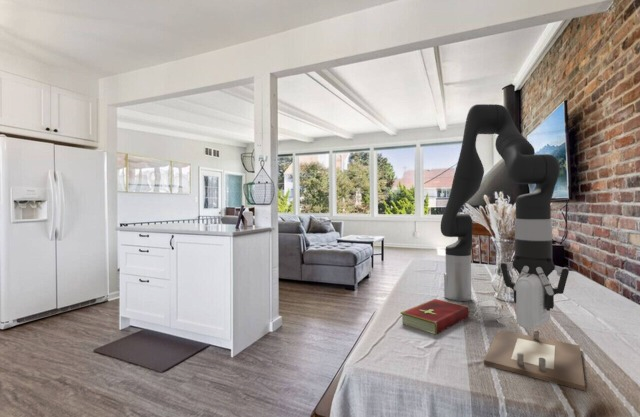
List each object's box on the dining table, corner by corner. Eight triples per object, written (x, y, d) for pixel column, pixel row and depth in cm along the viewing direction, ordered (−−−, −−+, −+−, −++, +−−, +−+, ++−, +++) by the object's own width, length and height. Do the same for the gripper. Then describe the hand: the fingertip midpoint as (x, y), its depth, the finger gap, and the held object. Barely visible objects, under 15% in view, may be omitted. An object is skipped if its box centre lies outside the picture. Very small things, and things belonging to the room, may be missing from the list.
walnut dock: (483, 364, 74) (483, 349, 74) (498, 332, 91) (498, 320, 91) (584, 390, 63) (584, 373, 63) (579, 349, 80) (579, 335, 80)
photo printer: (533, 316, 82) (533, 268, 81) (552, 321, 78) (552, 271, 78) (513, 325, 76) (513, 273, 76) (533, 331, 72) (533, 277, 72)
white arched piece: (501, 326, 96) (501, 310, 96) (471, 320, 101) (471, 305, 101) (507, 315, 105) (507, 300, 105) (480, 310, 110) (479, 296, 110)
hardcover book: (469, 318, 104) (469, 305, 104) (436, 336, 90) (436, 321, 90) (435, 309, 113) (435, 297, 113) (400, 325, 99) (400, 311, 99)
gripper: (496, 237, 78) (497, 306, 78) (571, 240, 69) (571, 318, 69) (501, 234, 84) (501, 298, 84) (570, 237, 75) (570, 308, 75)
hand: (533, 307), depth 77 cm, fingers closed on photo printer, 5 cm apart
